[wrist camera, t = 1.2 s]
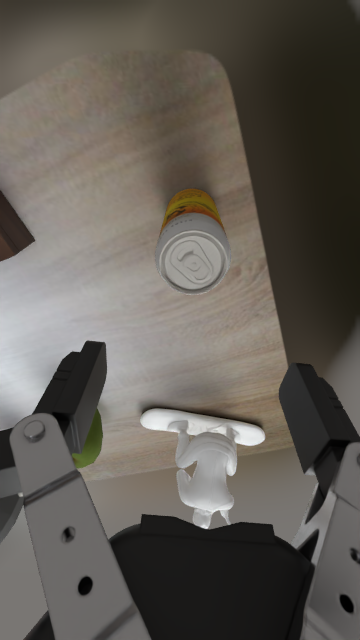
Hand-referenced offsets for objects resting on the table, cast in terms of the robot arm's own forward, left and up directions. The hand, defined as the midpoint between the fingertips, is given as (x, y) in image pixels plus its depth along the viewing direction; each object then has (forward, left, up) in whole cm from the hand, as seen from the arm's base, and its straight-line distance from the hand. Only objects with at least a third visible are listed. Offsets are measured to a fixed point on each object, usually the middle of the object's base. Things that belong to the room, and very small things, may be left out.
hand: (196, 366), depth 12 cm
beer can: (0, 0, -26) cm, 26 cm away
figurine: (+40, +8, -26) cm, 49 cm away
